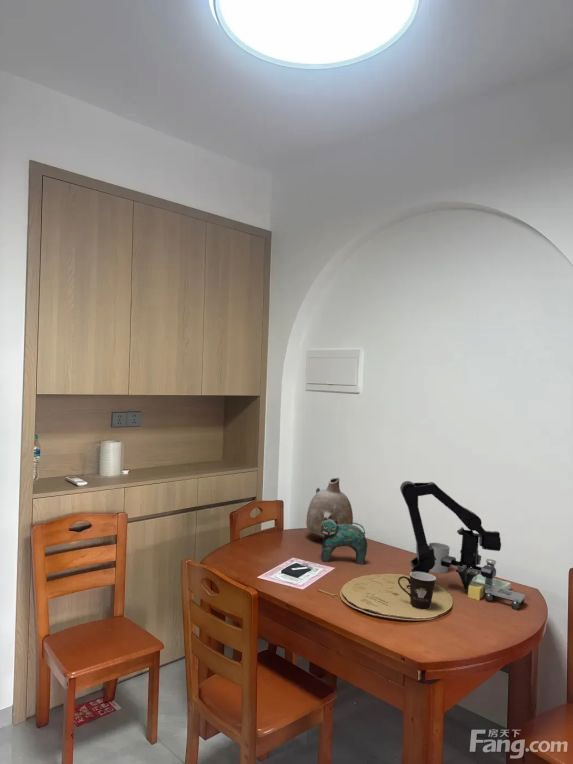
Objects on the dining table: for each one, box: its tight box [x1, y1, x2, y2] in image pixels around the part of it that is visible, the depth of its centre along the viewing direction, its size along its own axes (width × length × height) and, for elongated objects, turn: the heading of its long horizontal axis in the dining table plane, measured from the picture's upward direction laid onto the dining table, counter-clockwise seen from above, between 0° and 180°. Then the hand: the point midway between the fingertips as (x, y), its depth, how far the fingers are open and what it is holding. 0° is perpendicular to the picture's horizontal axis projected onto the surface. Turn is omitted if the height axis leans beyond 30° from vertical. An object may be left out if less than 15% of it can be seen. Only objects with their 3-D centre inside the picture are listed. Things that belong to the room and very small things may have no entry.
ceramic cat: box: [320, 513, 368, 565], centre depth 226 cm, size 20×6×20 cm, turn 92°
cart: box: [484, 585, 526, 611], centre depth 196 cm, size 12×9×4 cm
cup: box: [428, 542, 450, 574], centre depth 227 cm, size 8×8×10 cm
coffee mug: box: [397, 571, 437, 610], centre depth 186 cm, size 12×9×10 cm
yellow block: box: [467, 583, 485, 601], centre depth 198 cm, size 5×4×4 cm
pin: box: [485, 558, 497, 585], centre depth 210 cm, size 4×4×10 cm
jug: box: [305, 477, 354, 540], centre depth 256 cm, size 24×21×30 cm
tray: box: [470, 573, 512, 594], centre depth 210 cm, size 11×14×2 cm
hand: (466, 590), depth 200 cm, fingers closed
